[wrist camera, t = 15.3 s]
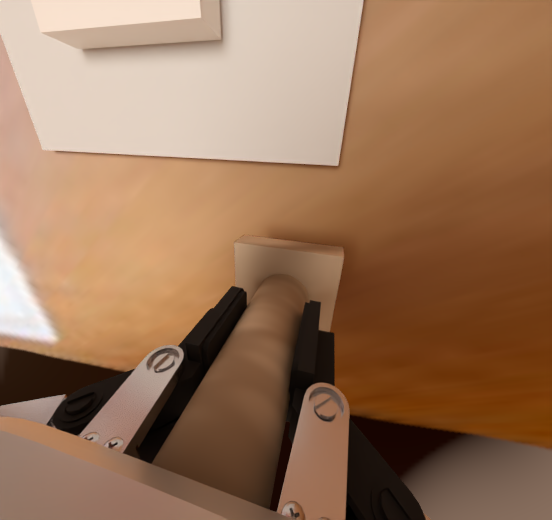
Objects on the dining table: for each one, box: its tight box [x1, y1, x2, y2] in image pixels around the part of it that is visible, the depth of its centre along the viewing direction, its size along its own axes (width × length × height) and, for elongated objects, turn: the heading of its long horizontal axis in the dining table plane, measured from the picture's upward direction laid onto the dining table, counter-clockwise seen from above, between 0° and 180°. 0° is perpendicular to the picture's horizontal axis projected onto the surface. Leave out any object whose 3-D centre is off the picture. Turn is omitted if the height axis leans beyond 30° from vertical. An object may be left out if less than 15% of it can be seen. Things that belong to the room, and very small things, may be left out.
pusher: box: [152, 235, 344, 509], centre depth 9 cm, size 6×6×10 cm
